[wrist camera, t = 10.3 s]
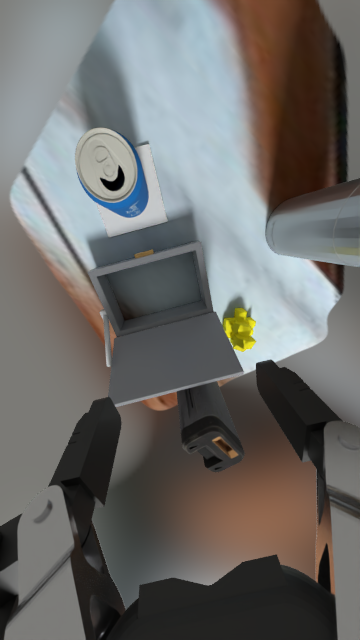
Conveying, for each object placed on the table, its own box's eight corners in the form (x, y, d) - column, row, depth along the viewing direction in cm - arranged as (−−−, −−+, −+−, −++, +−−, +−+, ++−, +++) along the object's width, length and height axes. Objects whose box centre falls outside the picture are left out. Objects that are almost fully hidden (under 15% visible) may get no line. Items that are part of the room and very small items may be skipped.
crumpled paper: (252, 307, 39) (272, 323, 32) (246, 340, 42) (263, 361, 35) (224, 308, 38) (239, 324, 31) (221, 341, 41) (233, 362, 34)
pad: (149, 144, 26) (148, 143, 26) (167, 221, 31) (167, 221, 30) (82, 163, 27) (80, 162, 26) (109, 237, 31) (108, 237, 30)
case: (196, 236, 32) (227, 236, 17) (212, 323, 39) (244, 375, 25) (89, 265, 32) (30, 289, 18) (125, 346, 39) (104, 411, 25)
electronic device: (170, 355, 42) (177, 447, 23) (191, 341, 41) (217, 425, 22) (192, 380, 45) (214, 476, 27) (213, 367, 44) (249, 458, 26)
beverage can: (122, 226, 30) (99, 219, 19) (96, 182, 27) (53, 146, 16) (156, 205, 29) (154, 186, 18) (134, 158, 27) (115, 103, 16)
